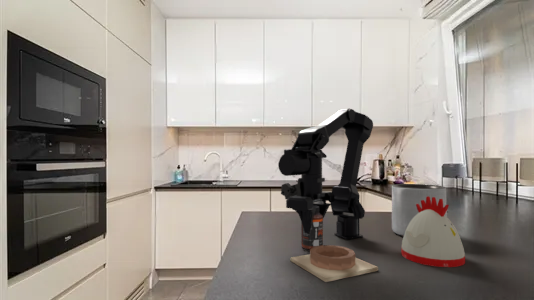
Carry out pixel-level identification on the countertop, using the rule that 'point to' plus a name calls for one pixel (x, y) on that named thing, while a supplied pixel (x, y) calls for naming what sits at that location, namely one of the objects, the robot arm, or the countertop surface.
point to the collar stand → (333, 263)
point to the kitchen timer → (432, 237)
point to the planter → (412, 202)
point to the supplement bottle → (313, 232)
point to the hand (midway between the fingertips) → (312, 230)
